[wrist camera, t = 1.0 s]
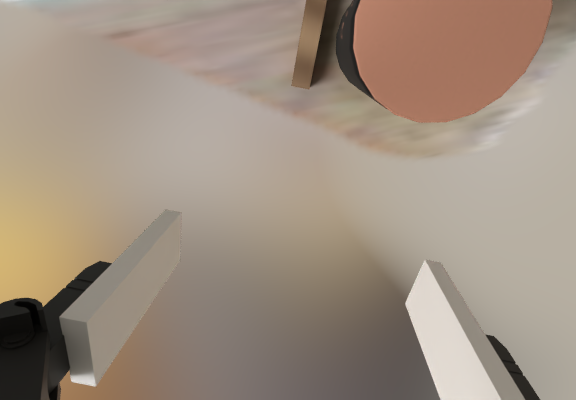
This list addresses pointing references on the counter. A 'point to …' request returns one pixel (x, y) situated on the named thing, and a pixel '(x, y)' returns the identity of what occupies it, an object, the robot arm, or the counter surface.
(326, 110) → the counter surface
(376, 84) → the coffee jar
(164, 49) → the counter surface
